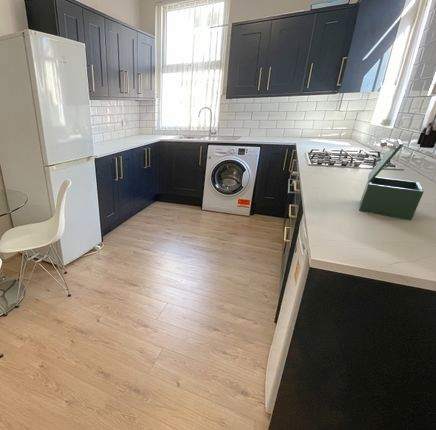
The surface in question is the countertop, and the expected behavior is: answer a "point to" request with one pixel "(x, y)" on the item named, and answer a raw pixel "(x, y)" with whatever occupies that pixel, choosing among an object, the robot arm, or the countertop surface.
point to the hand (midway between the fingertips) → (424, 146)
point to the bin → (391, 197)
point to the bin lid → (384, 158)
